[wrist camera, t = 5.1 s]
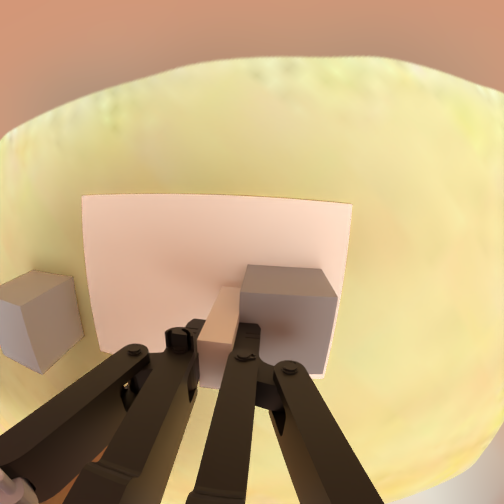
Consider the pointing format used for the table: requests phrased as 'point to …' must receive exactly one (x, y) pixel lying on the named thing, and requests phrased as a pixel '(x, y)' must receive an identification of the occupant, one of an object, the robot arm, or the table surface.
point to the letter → (196, 255)
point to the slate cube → (39, 319)
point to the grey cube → (289, 313)
